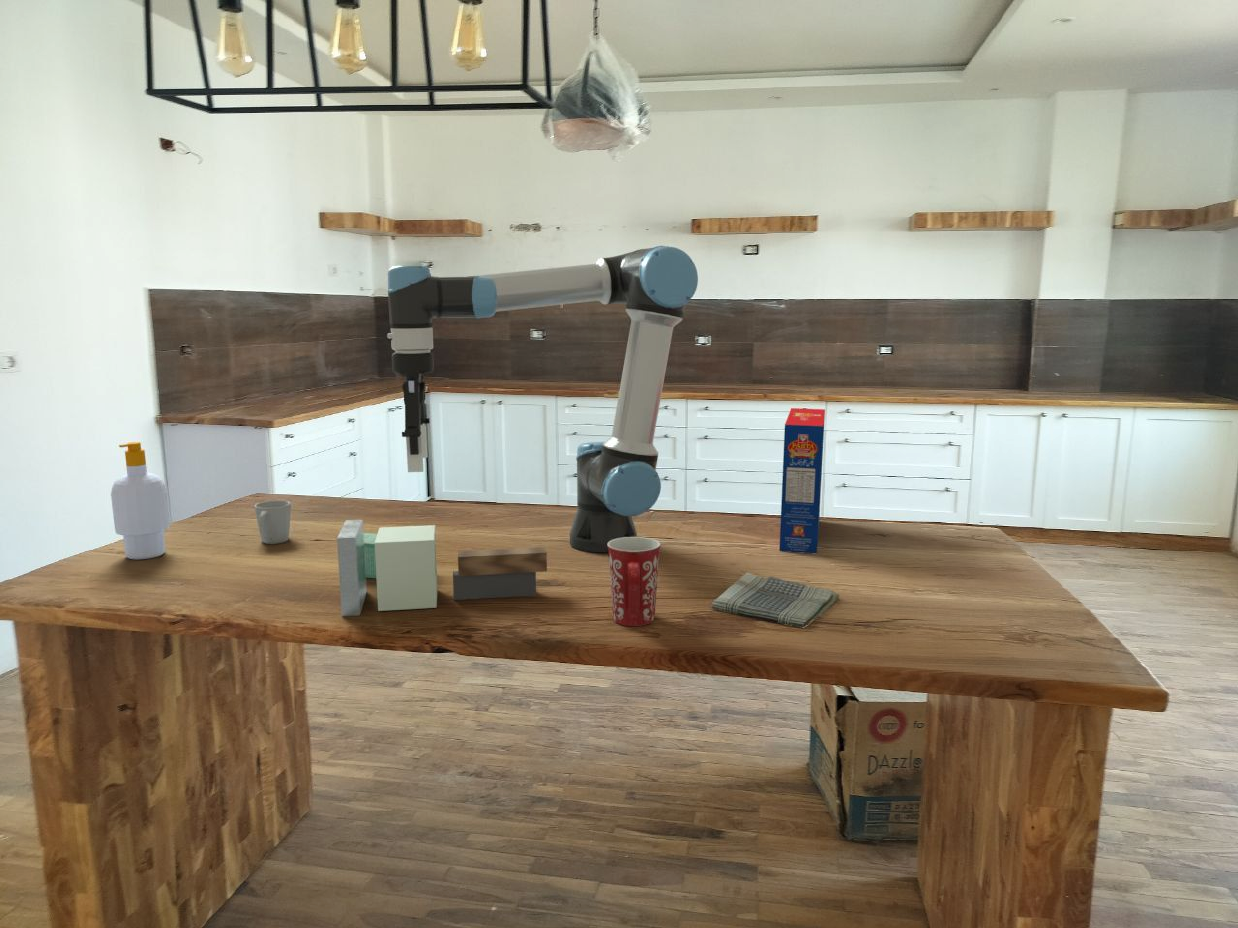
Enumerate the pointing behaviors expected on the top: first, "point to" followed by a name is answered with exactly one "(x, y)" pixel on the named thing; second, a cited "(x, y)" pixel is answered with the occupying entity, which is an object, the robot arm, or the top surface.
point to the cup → (273, 520)
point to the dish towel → (775, 600)
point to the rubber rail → (493, 585)
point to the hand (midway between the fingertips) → (418, 464)
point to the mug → (633, 579)
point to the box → (370, 554)
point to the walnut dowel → (502, 561)
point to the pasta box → (802, 480)
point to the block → (406, 567)
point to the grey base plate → (352, 567)
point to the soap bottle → (140, 507)
